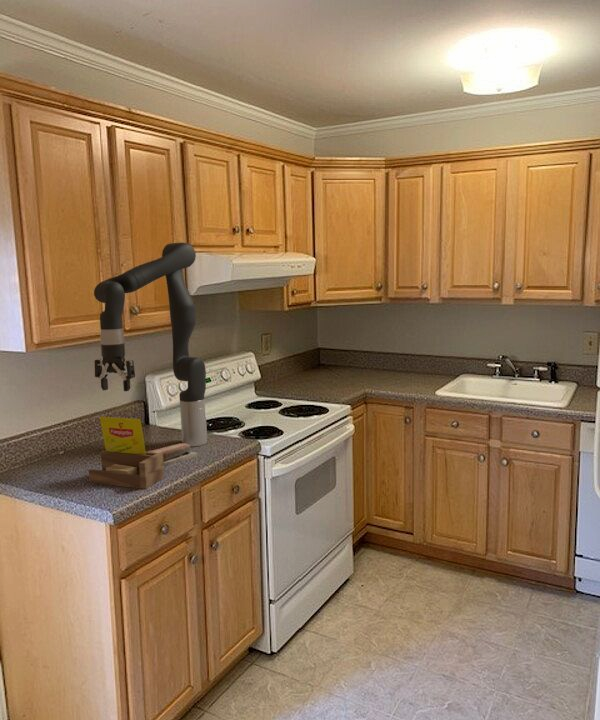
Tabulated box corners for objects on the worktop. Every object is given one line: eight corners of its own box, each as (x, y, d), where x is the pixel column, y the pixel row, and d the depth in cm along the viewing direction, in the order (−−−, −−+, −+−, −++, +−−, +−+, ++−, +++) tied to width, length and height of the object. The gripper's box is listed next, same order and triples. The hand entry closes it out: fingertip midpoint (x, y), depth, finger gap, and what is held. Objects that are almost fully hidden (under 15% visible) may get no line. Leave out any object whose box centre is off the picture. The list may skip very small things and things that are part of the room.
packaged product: (153, 456, 197) (137, 451, 203) (154, 470, 197) (138, 464, 204) (197, 444, 210) (180, 439, 216) (197, 457, 210) (181, 452, 217)
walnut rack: (109, 471, 196) (107, 448, 195) (164, 477, 189) (162, 453, 188) (89, 482, 187) (87, 458, 185) (146, 488, 180) (144, 463, 178)
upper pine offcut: (115, 471, 190) (114, 464, 190) (137, 474, 186) (136, 467, 186) (106, 475, 187) (105, 467, 186) (128, 479, 183) (127, 471, 182)
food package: (108, 473, 194) (98, 417, 189) (110, 472, 195) (100, 415, 190) (148, 478, 189) (139, 419, 184) (150, 476, 190) (141, 418, 185)
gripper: (137, 341, 197) (140, 389, 199) (101, 340, 202) (105, 387, 204) (123, 344, 190) (127, 393, 192) (87, 343, 195) (90, 391, 197)
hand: (115, 390), depth 198 cm, fingers open, 8 cm apart
